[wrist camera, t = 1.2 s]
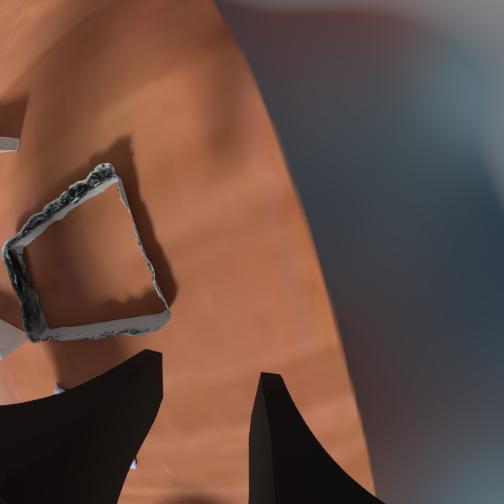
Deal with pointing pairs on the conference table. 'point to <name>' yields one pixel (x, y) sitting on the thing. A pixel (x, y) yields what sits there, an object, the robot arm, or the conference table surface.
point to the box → (3, 334)
